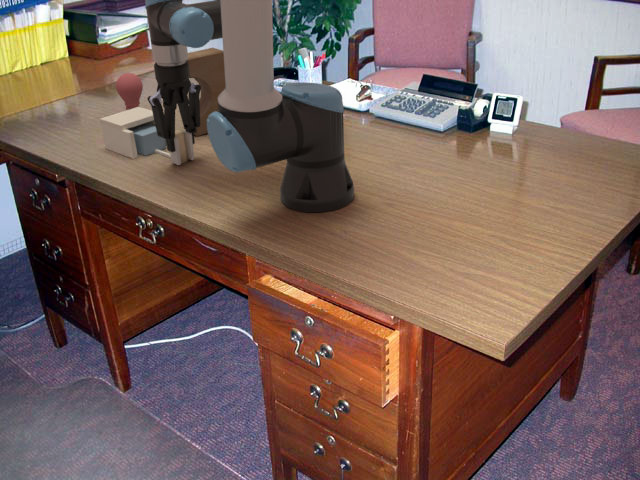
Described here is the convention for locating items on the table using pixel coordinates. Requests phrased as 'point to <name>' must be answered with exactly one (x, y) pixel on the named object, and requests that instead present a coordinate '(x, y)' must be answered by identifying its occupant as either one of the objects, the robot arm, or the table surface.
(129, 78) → the light bulb
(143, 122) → the shelf lane
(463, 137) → the table surface
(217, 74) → the decorative block
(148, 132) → the tethered block
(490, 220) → the table surface
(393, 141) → the table surface
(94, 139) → the table surface
